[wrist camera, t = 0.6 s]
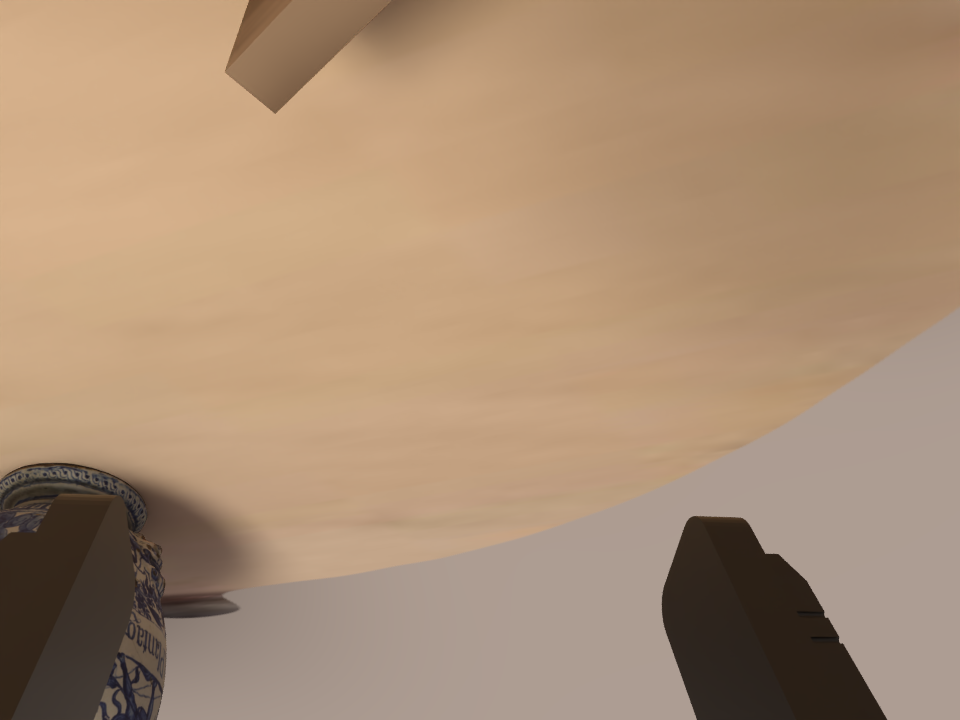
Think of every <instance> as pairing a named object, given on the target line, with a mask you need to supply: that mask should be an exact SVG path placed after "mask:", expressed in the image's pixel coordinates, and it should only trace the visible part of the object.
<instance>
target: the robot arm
mask: <svg viewBox="0 0 960 720" xmlns="http://www.w3.org/2000/svg"><path fill="white" fill-rule="evenodd" d="M134 595H135V571H134V564H133V557H132V550H131V543H130V536H129V529H128V522H127V515H126V508H125V503H124V500H123V498H122V497H121V496H119V495H90V494H60V495H58V496H57V497H56V498H55V499H54V501H53V502H52V504H51V506H50V508H49V510H48V511H47V513H46V515H45V517H44V519H43V520H42V522H41V524H40V526H39V528H38V529H37V531H36V533H29V532H11V533H9V534H8V535H7V536H6V537H4V538H3V539H2V540H1V541H0V720H94V718H95V715H96V712H97V710H98V707H99V704H100V701H101V699H102V696H103V693H104V690H105V687H106V685H107V682H108V679H109V676H110V674H111V671H112V668H113V665H114V662H115V660H116V657H117V654H118V651H119V649H120V646H121V643H122V640H123V638H124V635H125V632H126V629H127V626H128V624H129V620H130V617H131V613H132V608H133V603H134ZM662 615H663V623H664V627H665V630H666V633H667V636H668V639H669V642H670V644H671V647H672V650H673V653H674V656H675V659H676V662H677V664H678V667H679V670H680V673H681V676H682V678H683V681H684V684H685V687H686V690H687V693H688V695H689V698H690V701H691V704H692V707H693V709H694V712H695V715H696V718H697V720H887V719H886V717H885V715H884V713H883V712H882V710H881V708H880V707H879V705H878V703H877V701H876V700H875V698H874V696H873V695H872V693H871V691H870V689H869V688H868V686H867V684H866V682H865V681H864V679H863V677H862V675H861V674H860V672H859V671H858V669H857V667H856V665H855V663H854V662H853V660H852V658H851V657H850V655H849V653H848V651H847V650H846V648H845V646H844V644H840V643H839V636H838V634H837V632H836V631H835V629H834V627H833V625H832V624H831V622H830V620H829V619H828V618H825V616H824V610H823V608H822V607H821V605H820V604H819V601H818V600H817V598H816V596H815V594H814V593H813V592H812V589H811V588H810V586H809V584H808V582H807V581H806V580H805V579H804V578H803V577H802V576H801V575H800V574H799V573H798V572H797V571H796V570H794V569H793V568H792V567H791V566H790V565H789V564H788V563H787V562H786V561H784V559H783V558H782V557H781V556H780V555H779V554H765V553H764V551H763V549H762V547H761V545H760V544H759V542H758V540H757V538H756V536H755V534H754V532H753V531H752V529H751V527H750V525H749V524H748V523H747V521H746V520H744V519H743V518H735V517H704V516H693V517H691V518H690V519H689V520H688V521H687V523H686V525H685V527H684V530H683V533H682V536H681V539H680V542H679V545H678V548H677V550H676V553H675V556H674V559H673V562H672V565H671V568H670V571H669V574H668V577H667V580H666V582H665V585H664V590H663V595H662Z"/></svg>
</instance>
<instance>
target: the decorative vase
mask: <svg viewBox="0 0 960 720" xmlns="http://www.w3.org/2000/svg"><path fill="white" fill-rule="evenodd" d="M60 494H90V495H119V496H121V497H122V498H123V500H124V503H125V508H126V515H127V522H128V529H129V536H130V543H131V550H132V557H133V564H134V571H135V595H134V603H133V608H132V613H131V617H130V620H129V624H128V626H127V629H126V632H125V635H124V638H123V640H122V643H121V646H120V649H119V651H118V654H117V657H116V660H115V662H114V665H113V668H112V671H111V674H110V676H109V679H108V682H107V685H106V687H105V690H104V693H103V696H102V699H101V701H100V704H99V707H98V710H97V712H96V715H95V718H94V720H156V719H157V715H158V712H159V708H160V704H161V699H162V694H163V688H164V680H165V668H166V632H165V623H164V617H163V612H162V607H161V602H160V599H161V597H162V595H163V593H164V588H165V579H164V578H163V577H162V575H161V574H160V569H161V567H162V560H161V558H160V555H161V553H162V549H161V547H160V546H159V545H156V544H154V543H152V542H150V541H146V540H145V537H144V536H143V535H142V534H139V533H138V532H139V531H140V530H141V529H142V527H143V526H144V524H145V521H146V519H147V509H146V506H145V503H144V501H143V499H142V498H141V496H140V495H139V494H138V493H137V492H136V491H135V490H134V489H133V488H132V487H131V486H130V485H128V484H127V483H125V482H123V481H121V480H119V479H118V478H116V477H114V476H112V475H110V474H107V473H104V472H101V471H98V470H95V469H91V468H87V467H83V466H77V465H71V464H57V463H56V464H37V465H30V466H25V467H22V468H19V469H17V470H15V471H12V472H11V473H9V474H7V475H6V476H5V477H4V478H3V479H2V480H1V481H0V541H1V540H2V539H3V538H4V537H6V536H7V535H8V534H9V533H11V532H29V533H36V531H37V529H38V528H39V526H40V524H41V522H42V520H43V519H44V517H45V515H46V513H47V511H48V510H49V508H50V506H51V504H52V502H53V501H54V499H55V498H56V497H57V496H58V495H60Z"/></svg>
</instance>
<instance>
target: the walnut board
mask: <svg viewBox="0 0 960 720" xmlns="http://www.w3.org/2000/svg"><path fill="white" fill-rule="evenodd" d="M391 1H392V0H249V3H248V5H247V8H246V11H245V14H244V17H243V20H242V23H241V26H240V29H239V32H238V35H237V38H236V40H235V43H234V46H233V49H232V52H231V55H230V58H229V61H228V64H227V67H226V70H225V73H226V74H228V75H229V76H230V77H231V78H232V79H234V80H235V81H236V82H237V83H239V84H240V85H241V86H242V87H243V88H245V89H246V90H247V91H248V92H249V93H251V94H252V95H253V96H254V97H256V98H257V99H258V100H259V101H260V102H262V103H263V104H264V105H265V106H266V107H268V108H269V109H270V110H271V111H273V112H274V113H275V114H276V113H277V112H278V111H279V110H280V109H281V108H282V107H283V106H284V105H285V104H286V103H287V102H288V101H289V100H290V99H291V98H292V97H293V96H294V95H295V94H296V93H297V92H298V91H299V90H300V89H301V88H302V87H303V86H304V85H305V84H306V83H307V82H308V81H309V80H311V79H312V78H313V77H314V76H315V75H316V74H317V73H318V72H319V71H320V70H321V69H322V68H323V67H324V66H325V65H326V64H327V63H328V62H329V61H330V60H331V59H332V58H333V57H334V56H335V55H336V54H337V53H338V52H339V51H340V50H341V49H342V48H343V47H344V46H346V45H347V44H348V43H349V42H350V41H351V40H352V39H353V38H354V37H355V36H356V35H357V34H358V33H359V32H360V31H361V30H362V29H363V28H364V27H365V26H366V25H367V24H368V23H369V22H370V21H371V20H372V19H373V18H374V17H375V16H376V15H377V14H378V13H379V12H381V11H382V10H383V9H384V8H385V7H386V6H387V5H388V4H389V3H390V2H391Z"/></svg>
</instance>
